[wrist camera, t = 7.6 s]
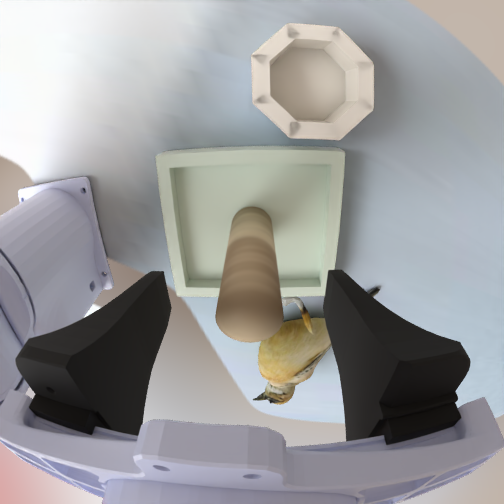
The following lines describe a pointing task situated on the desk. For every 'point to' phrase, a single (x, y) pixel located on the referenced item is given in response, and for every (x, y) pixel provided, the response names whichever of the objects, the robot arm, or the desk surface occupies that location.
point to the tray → (251, 195)
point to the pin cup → (312, 81)
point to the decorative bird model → (293, 353)
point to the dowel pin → (250, 280)
